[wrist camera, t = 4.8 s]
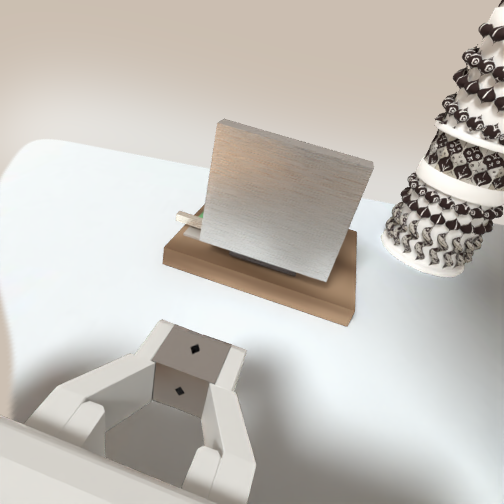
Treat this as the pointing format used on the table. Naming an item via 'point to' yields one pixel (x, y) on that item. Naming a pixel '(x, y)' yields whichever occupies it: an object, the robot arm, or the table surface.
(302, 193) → the brushed metal plate
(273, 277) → the base
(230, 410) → the robot arm
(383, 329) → the table surface
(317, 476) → the table surface
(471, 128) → the decorative candle
